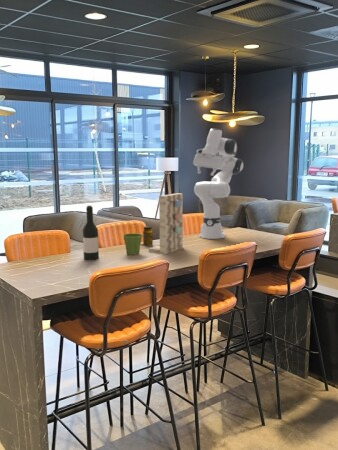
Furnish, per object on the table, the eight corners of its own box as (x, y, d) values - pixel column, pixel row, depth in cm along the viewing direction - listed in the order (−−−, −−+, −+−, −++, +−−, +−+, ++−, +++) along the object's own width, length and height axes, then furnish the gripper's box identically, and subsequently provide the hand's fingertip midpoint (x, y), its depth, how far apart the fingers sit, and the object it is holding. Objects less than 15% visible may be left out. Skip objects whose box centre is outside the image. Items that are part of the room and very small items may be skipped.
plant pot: (143, 255, 252) (142, 236, 251) (122, 256, 252) (122, 237, 250) (143, 251, 264) (142, 233, 262) (123, 251, 263) (123, 233, 262)
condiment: (155, 245, 281) (155, 227, 279) (143, 247, 276) (143, 228, 274) (149, 243, 287) (149, 225, 285) (138, 245, 282) (137, 226, 280)
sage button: (173, 232, 266) (173, 225, 266) (181, 233, 263) (181, 226, 262) (169, 233, 263) (169, 226, 262) (177, 234, 260) (177, 227, 259)
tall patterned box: (166, 245, 280) (166, 192, 274) (182, 247, 273) (182, 193, 268) (148, 251, 263) (147, 195, 258) (165, 254, 257) (165, 196, 251)
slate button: (173, 206, 264) (173, 199, 263) (181, 206, 261) (181, 199, 260) (169, 207, 260) (169, 199, 259) (177, 207, 257) (177, 200, 256)
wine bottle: (80, 258, 246) (78, 205, 241) (92, 256, 252) (90, 204, 248) (90, 261, 241) (88, 207, 236) (101, 258, 247) (100, 205, 242)
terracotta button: (173, 219, 265) (173, 212, 264) (181, 220, 262) (181, 212, 261) (169, 220, 261) (169, 213, 261) (177, 221, 258) (177, 213, 258)
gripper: (227, 156, 275) (221, 177, 275) (199, 152, 286) (194, 173, 286) (222, 153, 269) (217, 175, 269) (194, 150, 280) (189, 171, 280)
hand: (205, 174), depth 278 cm, fingers open, 8 cm apart
